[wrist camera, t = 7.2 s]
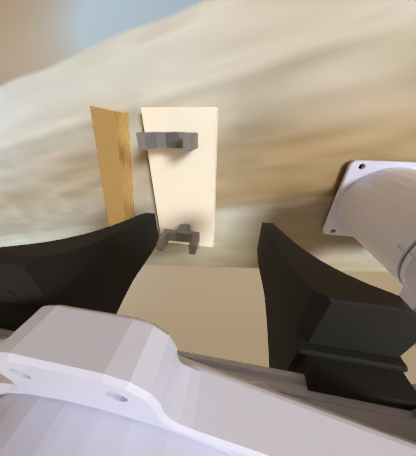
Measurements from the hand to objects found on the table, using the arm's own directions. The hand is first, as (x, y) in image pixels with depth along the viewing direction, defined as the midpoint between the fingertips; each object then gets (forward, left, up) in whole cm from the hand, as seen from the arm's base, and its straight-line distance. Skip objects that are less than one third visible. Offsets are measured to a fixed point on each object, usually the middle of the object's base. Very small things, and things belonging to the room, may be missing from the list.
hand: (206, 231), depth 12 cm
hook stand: (+4, 0, -9) cm, 10 cm away
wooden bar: (+12, 0, -10) cm, 15 cm away
